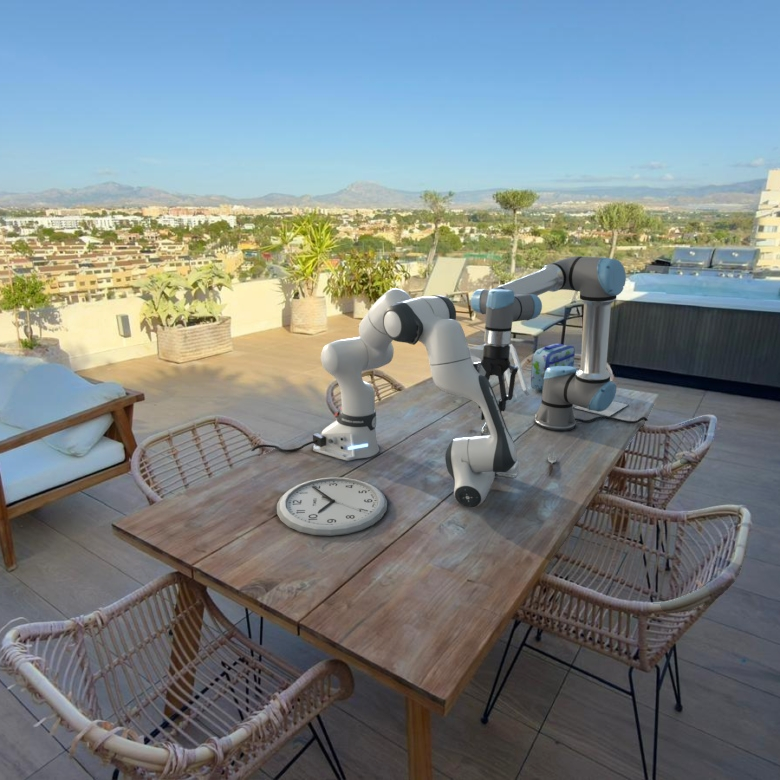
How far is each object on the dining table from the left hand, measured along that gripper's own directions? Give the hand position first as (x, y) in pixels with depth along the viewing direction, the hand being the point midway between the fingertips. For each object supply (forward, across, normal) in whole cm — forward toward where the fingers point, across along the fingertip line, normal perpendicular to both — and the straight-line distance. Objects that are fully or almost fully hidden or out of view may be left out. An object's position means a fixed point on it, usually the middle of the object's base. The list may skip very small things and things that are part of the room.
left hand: (488, 453), depth 163 cm
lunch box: (+102, -12, +6) cm, 103 cm away
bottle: (-1, 0, +6) cm, 6 cm away
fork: (+11, -19, +6) cm, 22 cm away
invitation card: (+82, -34, +6) cm, 89 cm away
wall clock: (-37, +35, +6) cm, 52 cm away
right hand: (-1, 0, -12) cm, 12 cm away
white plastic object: (+81, +19, +6) cm, 83 cm away
